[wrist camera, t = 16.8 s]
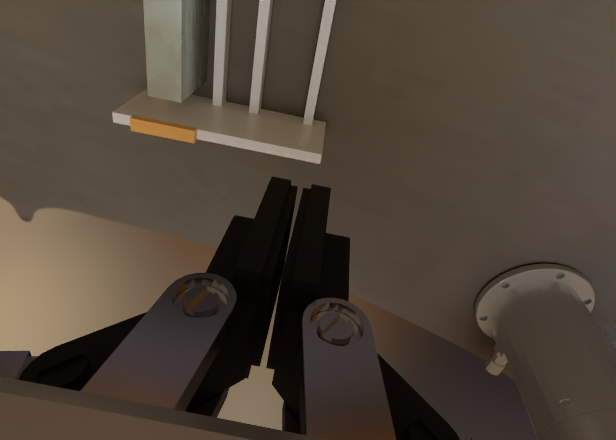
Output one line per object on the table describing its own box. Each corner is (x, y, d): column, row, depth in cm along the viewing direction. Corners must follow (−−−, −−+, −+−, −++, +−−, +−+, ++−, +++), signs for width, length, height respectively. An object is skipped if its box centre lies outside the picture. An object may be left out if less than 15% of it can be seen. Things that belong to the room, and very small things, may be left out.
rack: (324, 131, 36) (319, 168, 29) (151, 95, 35) (109, 126, 29) (378, -120, 26) (388, -145, 19) (137, -176, 25) (67, -219, 19)
